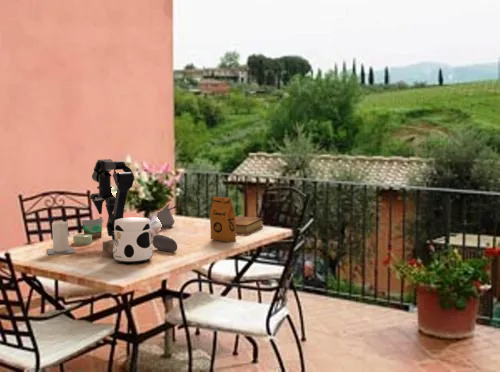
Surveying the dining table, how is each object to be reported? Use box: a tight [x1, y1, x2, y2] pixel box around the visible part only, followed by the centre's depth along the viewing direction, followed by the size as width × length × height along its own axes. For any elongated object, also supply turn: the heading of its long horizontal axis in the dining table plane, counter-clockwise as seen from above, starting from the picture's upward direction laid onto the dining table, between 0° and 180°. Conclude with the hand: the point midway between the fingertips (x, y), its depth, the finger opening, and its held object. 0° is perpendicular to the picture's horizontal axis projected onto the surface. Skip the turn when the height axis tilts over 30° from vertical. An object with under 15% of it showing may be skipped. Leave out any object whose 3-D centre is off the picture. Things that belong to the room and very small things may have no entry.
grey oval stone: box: [152, 234, 178, 253], centre depth 298 cm, size 15×5×7 cm, turn 46°
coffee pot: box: [156, 201, 187, 229], centre depth 355 cm, size 21×12×15 cm, turn 57°
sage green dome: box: [72, 233, 93, 246], centre depth 316 cm, size 9×9×4 cm
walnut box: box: [102, 239, 115, 260], centre depth 287 cm, size 6×6×7 cm
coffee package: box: [209, 196, 237, 243], centre depth 319 cm, size 10×12×22 cm
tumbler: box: [51, 221, 70, 252], centre depth 297 cm, size 6×6×13 cm
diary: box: [235, 215, 264, 235], centre depth 350 cm, size 23×19×6 cm
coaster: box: [46, 246, 76, 256], centre depth 298 cm, size 12×12×1 cm
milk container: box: [113, 216, 154, 264], centre depth 278 cm, size 17×17×18 cm
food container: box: [81, 216, 104, 240], centre depth 328 cm, size 12×6×10 cm, turn 143°
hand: (105, 215), depth 318 cm, fingers open, 9 cm apart
